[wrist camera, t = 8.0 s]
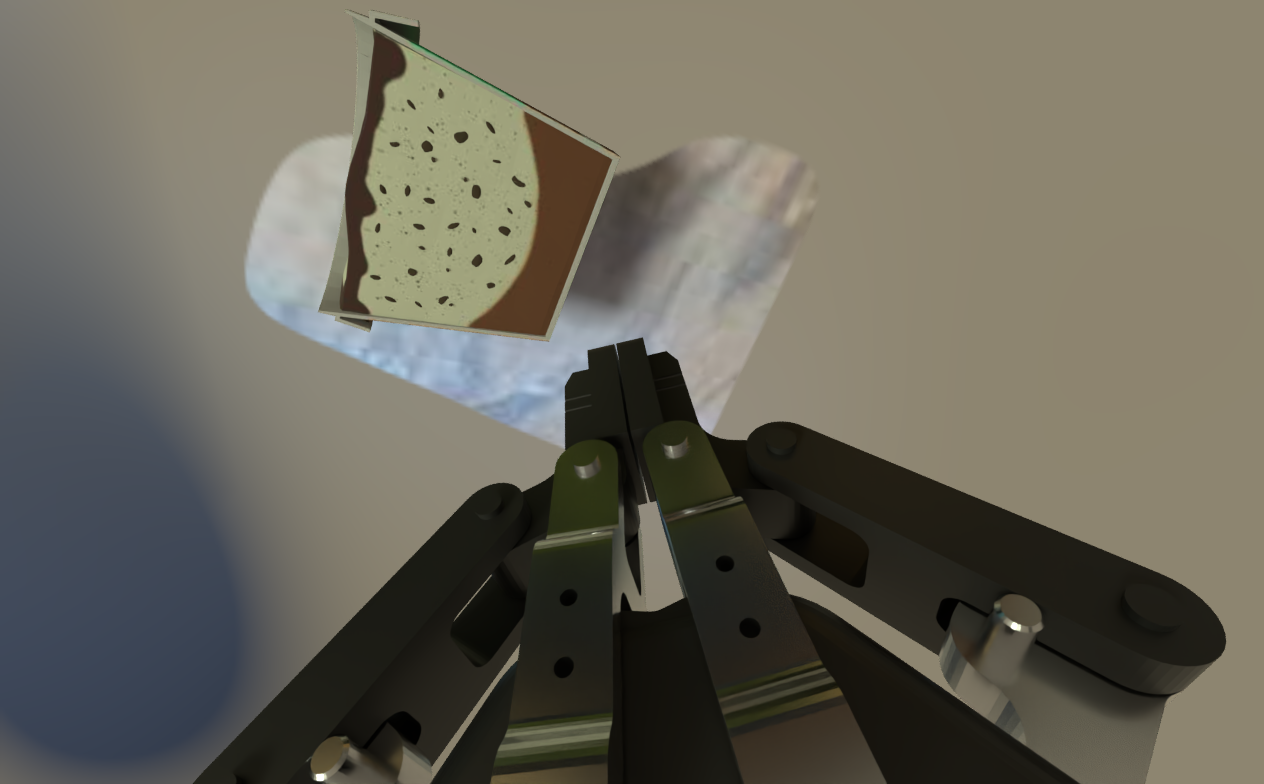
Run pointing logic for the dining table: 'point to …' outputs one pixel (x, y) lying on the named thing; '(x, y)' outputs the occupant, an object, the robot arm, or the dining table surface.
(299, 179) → the dining table surface
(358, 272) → the food container
